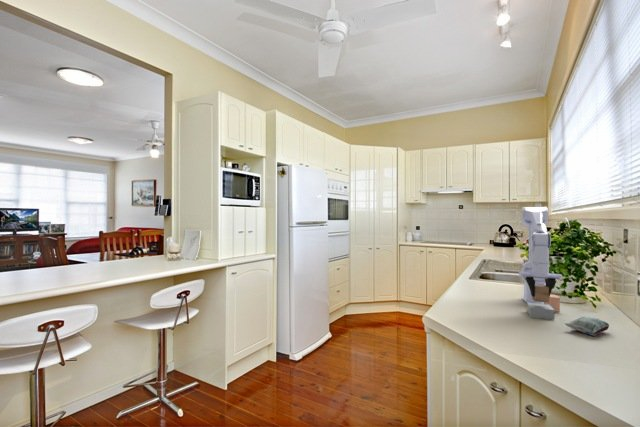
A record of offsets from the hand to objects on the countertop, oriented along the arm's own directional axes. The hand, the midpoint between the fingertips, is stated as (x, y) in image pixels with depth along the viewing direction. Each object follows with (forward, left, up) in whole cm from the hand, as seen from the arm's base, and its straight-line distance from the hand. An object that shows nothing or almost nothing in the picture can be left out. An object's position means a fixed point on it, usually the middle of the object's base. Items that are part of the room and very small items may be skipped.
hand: (540, 296), depth 131 cm
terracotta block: (-10, +7, -8) cm, 14 cm away
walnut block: (0, 0, -2) cm, 2 cm away
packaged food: (+16, +10, -8) cm, 20 cm away
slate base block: (0, 0, -8) cm, 8 cm away
